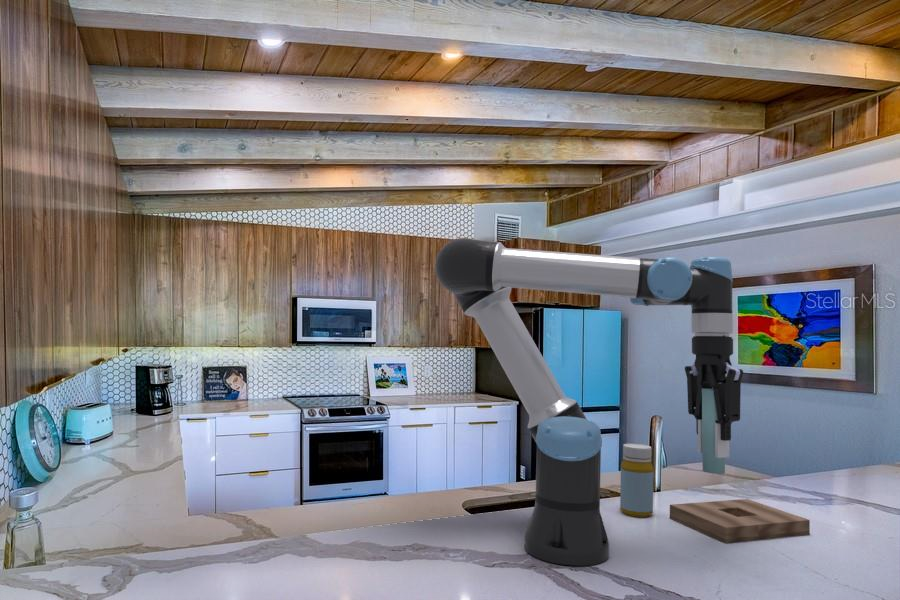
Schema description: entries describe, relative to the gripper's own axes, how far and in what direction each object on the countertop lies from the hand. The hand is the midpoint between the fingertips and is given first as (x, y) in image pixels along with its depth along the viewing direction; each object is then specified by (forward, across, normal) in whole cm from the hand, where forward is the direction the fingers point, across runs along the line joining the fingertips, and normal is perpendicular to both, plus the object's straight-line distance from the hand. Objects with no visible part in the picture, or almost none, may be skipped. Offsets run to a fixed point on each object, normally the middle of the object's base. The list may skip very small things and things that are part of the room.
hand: (713, 454), depth 115 cm
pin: (+3, 0, 0) cm, 3 cm away
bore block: (+17, +8, -13) cm, 23 cm away
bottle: (+17, +20, +3) cm, 27 cm away
